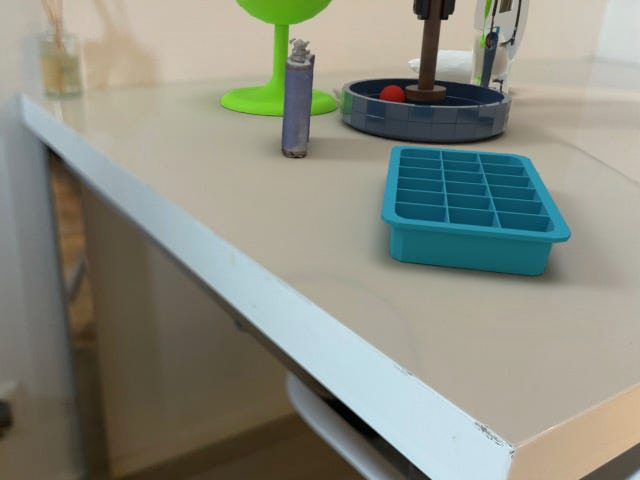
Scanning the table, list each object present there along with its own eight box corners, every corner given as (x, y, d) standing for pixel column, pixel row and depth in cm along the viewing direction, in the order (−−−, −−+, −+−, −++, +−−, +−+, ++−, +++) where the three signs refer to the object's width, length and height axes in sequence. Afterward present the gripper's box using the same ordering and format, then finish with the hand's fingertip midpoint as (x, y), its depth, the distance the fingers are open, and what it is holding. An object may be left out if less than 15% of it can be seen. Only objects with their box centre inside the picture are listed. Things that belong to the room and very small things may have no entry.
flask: (306, 158, 66) (312, 44, 61) (277, 157, 66) (281, 43, 61) (310, 137, 74) (316, 35, 69) (284, 135, 74) (288, 34, 70)
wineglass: (241, 118, 81) (243, -45, 73) (207, 95, 95) (205, -46, 87) (358, 112, 86) (371, -42, 78) (309, 91, 100) (317, -43, 92)
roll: (407, 81, 110) (411, 45, 108) (482, 86, 107) (488, 50, 105) (403, 87, 105) (408, 49, 103) (482, 92, 102) (489, 54, 100)
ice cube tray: (520, 188, 59) (527, 155, 57) (564, 285, 41) (576, 240, 40) (388, 176, 61) (391, 144, 60) (375, 264, 43) (380, 220, 42)
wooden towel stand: (439, 93, 86) (453, -27, 80) (449, 101, 82) (464, -27, 75) (401, 94, 86) (411, -27, 80) (409, 101, 82) (421, -26, 75)
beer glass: (465, 95, 100) (483, -14, 93) (513, 100, 97) (535, -12, 90) (456, 103, 94) (474, -13, 87) (507, 108, 91) (530, -11, 85)
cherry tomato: (406, 101, 86) (396, 79, 85) (411, 104, 83) (400, 81, 82) (384, 114, 86) (373, 92, 85) (388, 117, 83) (377, 95, 82)
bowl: (476, 110, 90) (481, 79, 88) (530, 146, 72) (537, 109, 71) (332, 106, 90) (334, 76, 88) (351, 142, 72) (354, 105, 70)
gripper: (394, -157, 69) (380, 22, 76) (527, -157, 69) (500, 22, 76) (382, -147, 75) (370, 17, 83) (503, -147, 76) (480, 17, 83)
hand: (432, 19), depth 80 cm, fingers closed on wooden towel stand
